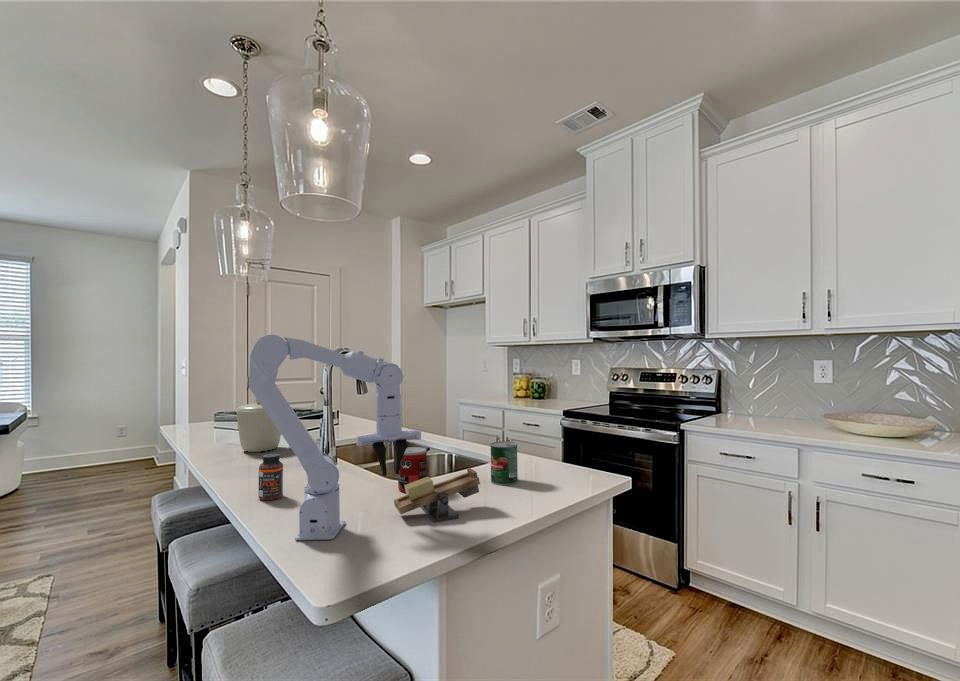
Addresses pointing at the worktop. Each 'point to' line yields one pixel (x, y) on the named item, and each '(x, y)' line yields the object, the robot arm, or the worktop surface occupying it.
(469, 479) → the beam
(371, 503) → the worktop surface
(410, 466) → the canned food
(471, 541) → the worktop surface
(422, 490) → the rider
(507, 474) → the canned tomato
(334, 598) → the worktop surface
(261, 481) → the supplement bottle
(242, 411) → the canister
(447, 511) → the stand
